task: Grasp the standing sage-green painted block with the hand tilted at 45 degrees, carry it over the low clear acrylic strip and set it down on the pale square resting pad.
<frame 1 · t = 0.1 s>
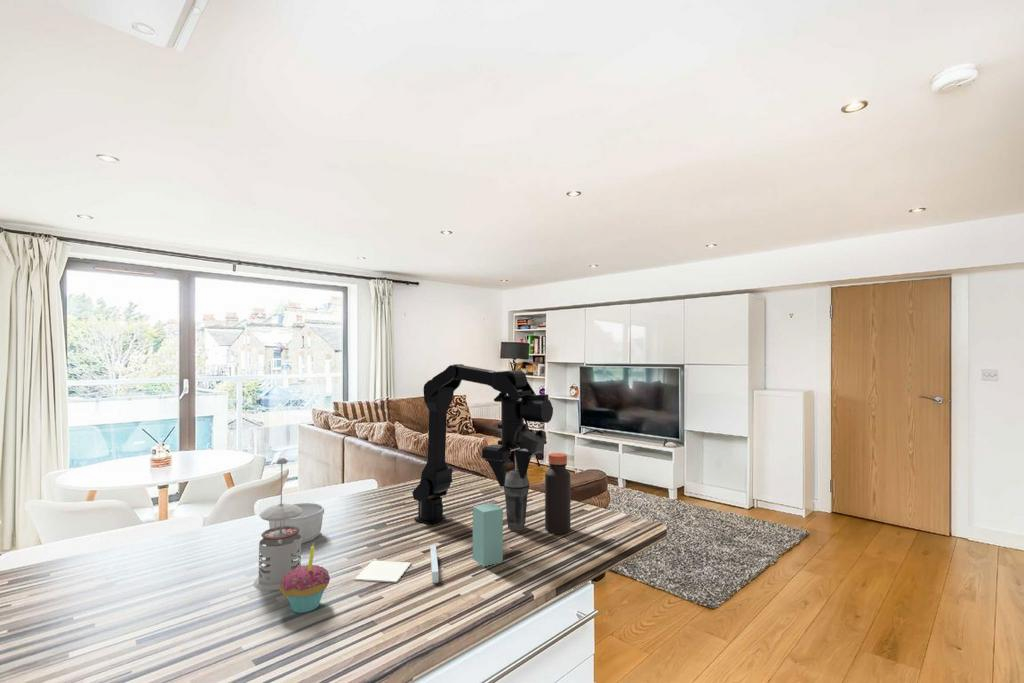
hand: (512, 482, 121), 15 cm above the counter, tool pointing down, fingers open, 9 cm apart
ramekin: (296, 538, 123), on the counter
bottle: (557, 530, 128), on the counter
sage block: (487, 560, 109), on the counter
french press: (279, 578, 101), on the counter
resting pad: (384, 571, 103), on the counter
acrylic strip: (434, 567, 105), on the counter
beverage cup: (516, 528, 130), on the counter
cupcake: (304, 607, 89), on the counter
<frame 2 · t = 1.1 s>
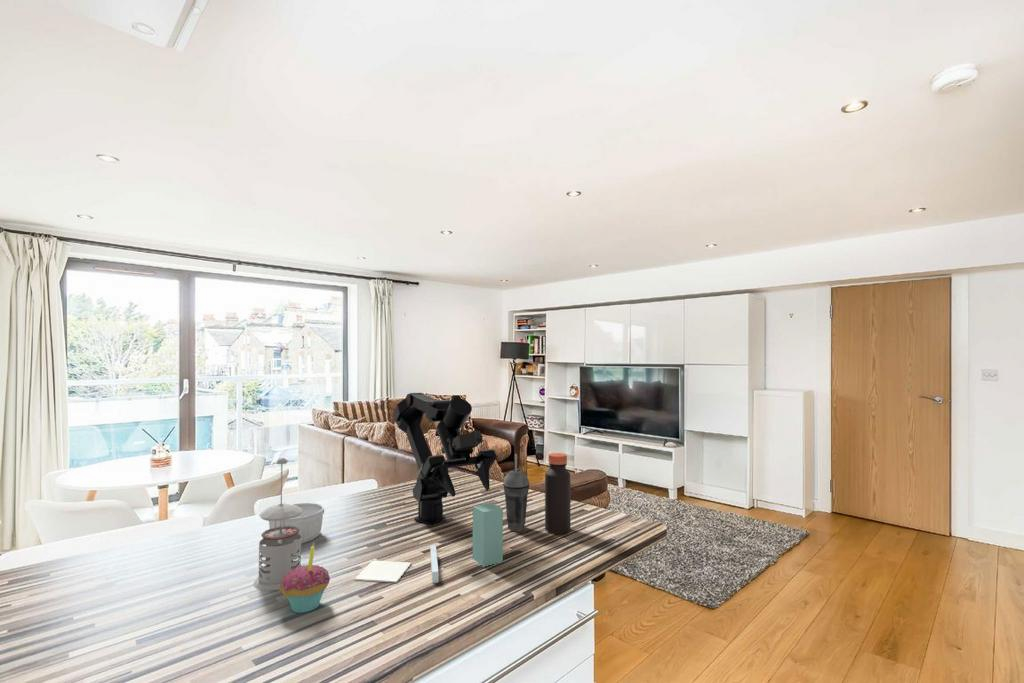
hand: (471, 492, 116), 13 cm above the counter, tool tilted 45°, fingers open, 9 cm apart
nothing on the counter moved.
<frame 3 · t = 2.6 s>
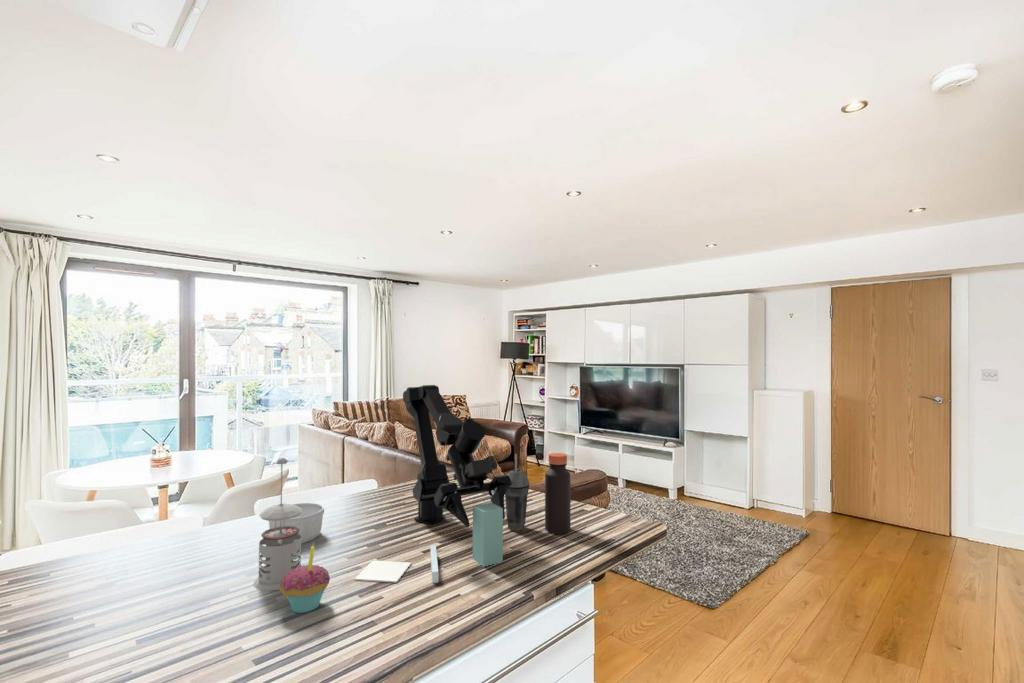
hand: (486, 522, 110), 8 cm above the counter, tool tilted 45°, fingers open, 9 cm apart
nothing on the counter moved.
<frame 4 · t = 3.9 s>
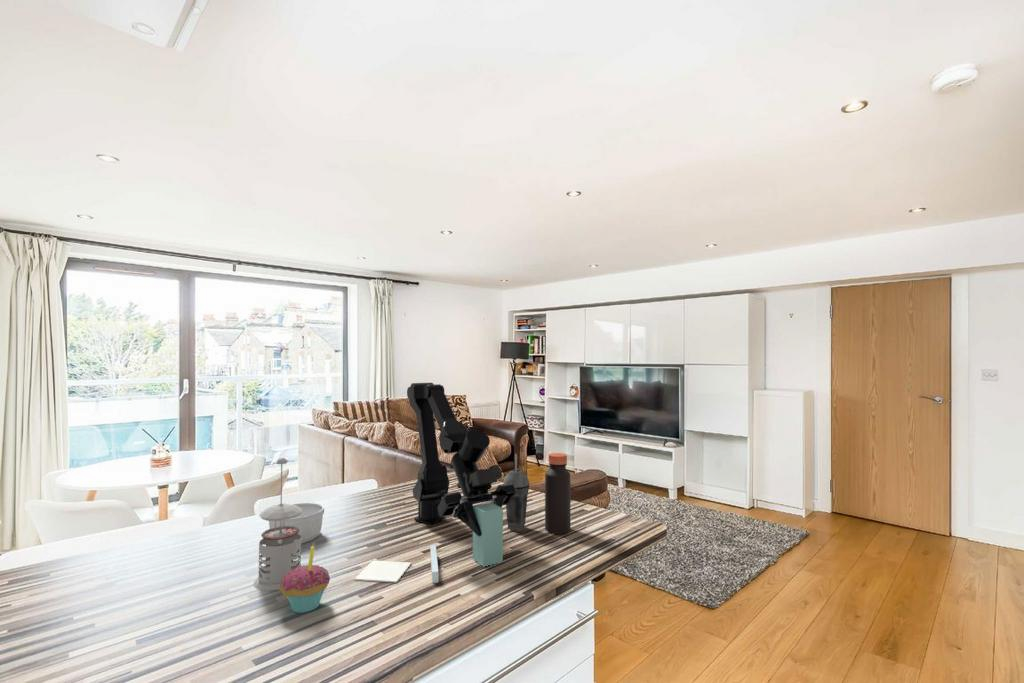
hand: (490, 533, 108), 7 cm above the counter, tool tilted 45°, fingers closed on sage block, 5 cm apart
sage block: (487, 560, 109), on the counter, touching gripper
everything else where it was.
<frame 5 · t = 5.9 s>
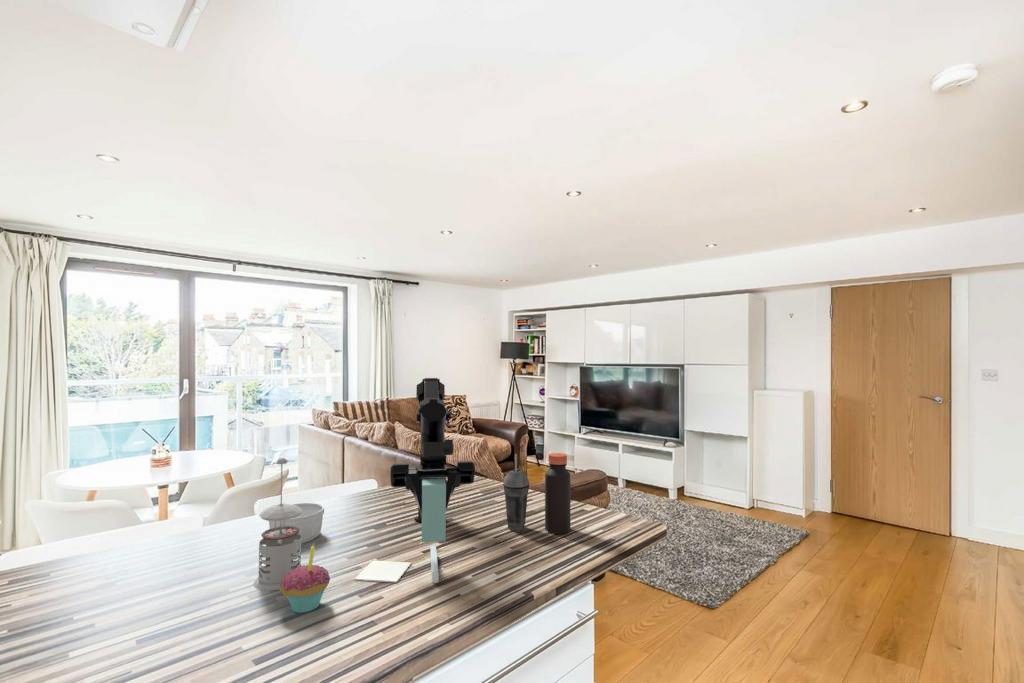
hand: (433, 508, 104), 13 cm above the counter, tool tilted 45°, fingers closed on sage block, 5 cm apart
sage block: (433, 537, 105), point 7 cm above the counter, touching gripper
everything else where it was.
when the fingers open (8 cm above the counter, at t = 7.8 s): sage block drops 1 cm, resting on resting pad.
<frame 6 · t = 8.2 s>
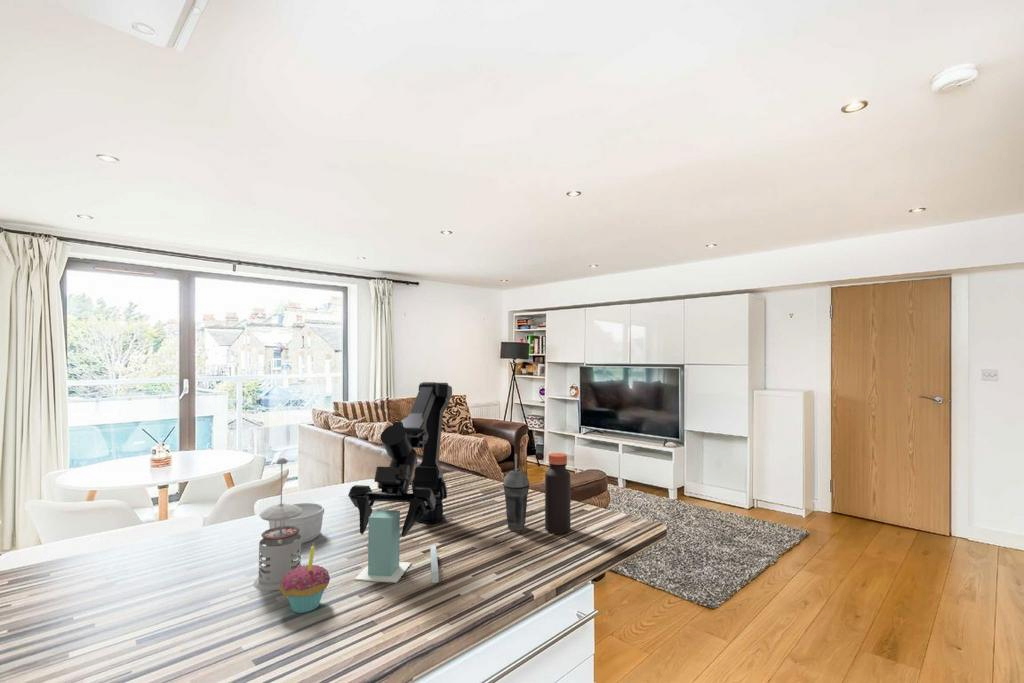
hand: (381, 534, 102), 8 cm above the counter, tool tilted 45°, fingers open, 9 cm apart
sage block: (383, 570, 103), resting on resting pad
everything else where it was.
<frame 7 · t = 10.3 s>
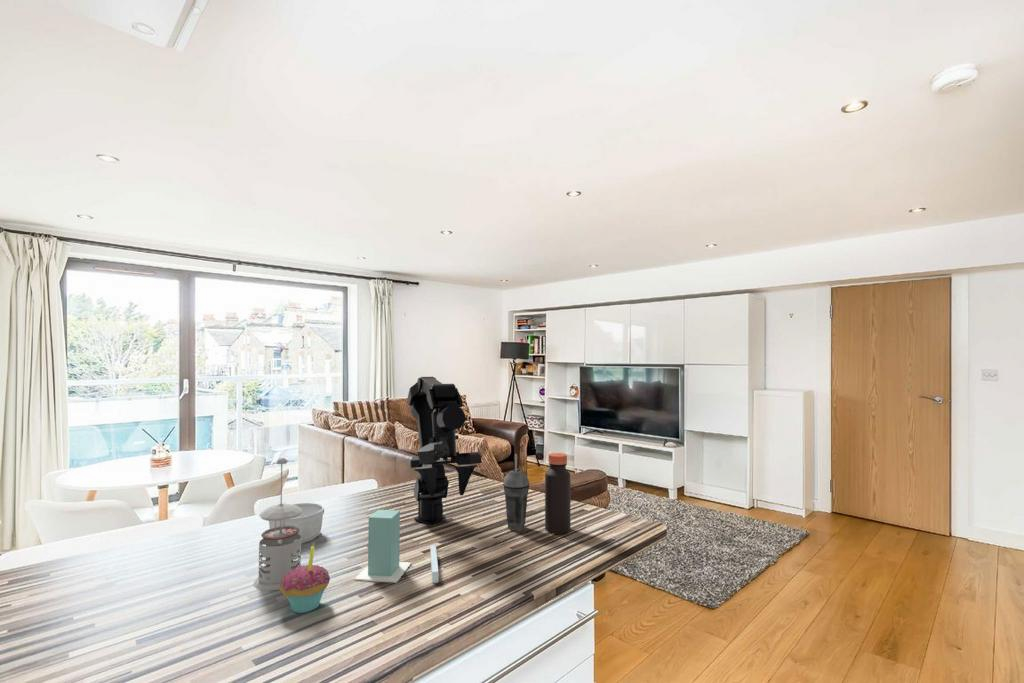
hand: (446, 495, 120), 11 cm above the counter, tool pointing down, fingers open, 9 cm apart
nothing on the counter moved.
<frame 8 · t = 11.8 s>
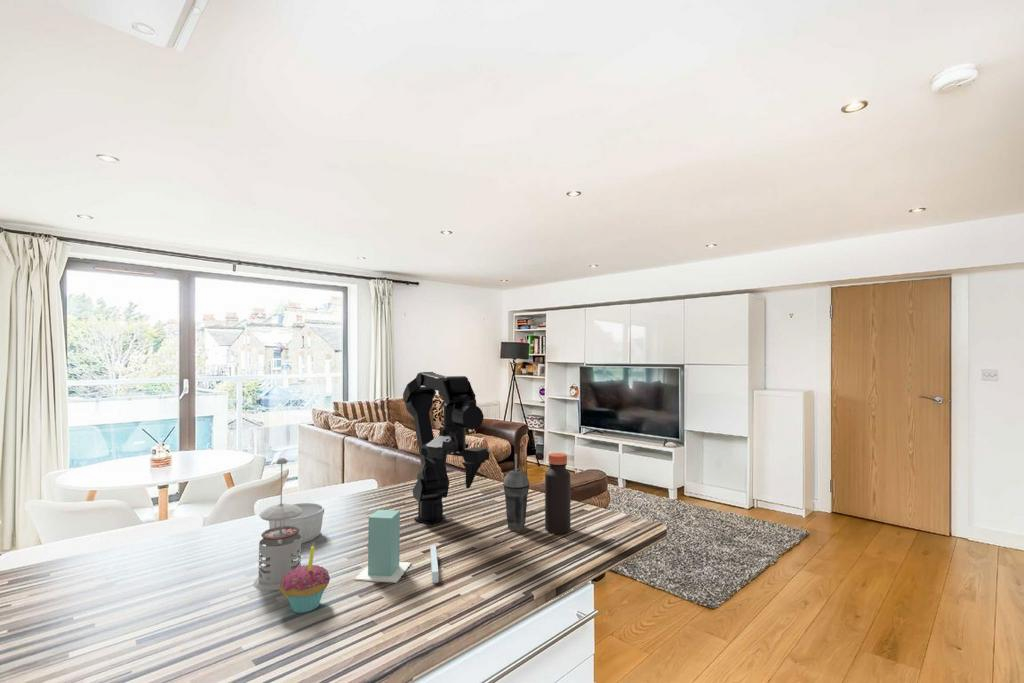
hand: (454, 485, 124), 13 cm above the counter, tool pointing down, fingers open, 9 cm apart
nothing on the counter moved.
at the end: sage block inside the target area on the resting pad (0.0 cm from its centre), point 0.3 cm above the resting pad's base; sage block tilted 0°; the gripper is holding nothing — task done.
